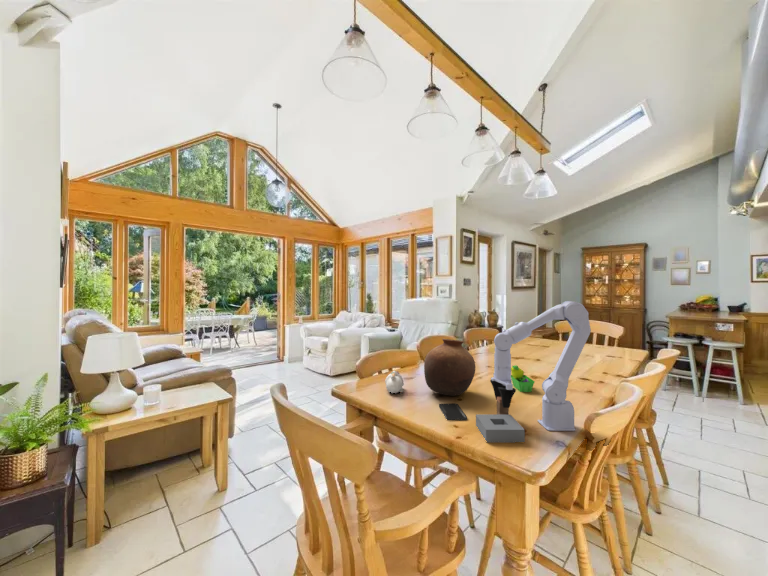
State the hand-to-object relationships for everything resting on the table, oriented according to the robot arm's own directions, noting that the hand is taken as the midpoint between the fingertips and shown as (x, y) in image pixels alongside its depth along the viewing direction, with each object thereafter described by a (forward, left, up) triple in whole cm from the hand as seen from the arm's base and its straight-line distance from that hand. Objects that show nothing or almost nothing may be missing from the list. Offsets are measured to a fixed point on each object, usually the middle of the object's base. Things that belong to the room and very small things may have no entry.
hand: (502, 403), depth 119 cm
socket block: (+5, +11, -6) cm, 13 cm away
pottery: (+14, -29, -6) cm, 33 cm away
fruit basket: (-21, -36, -6) cm, 42 cm away
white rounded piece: (+39, -33, -6) cm, 51 cm away
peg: (0, 0, -6) cm, 6 cm away
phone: (+17, -7, -7) cm, 20 cm away
